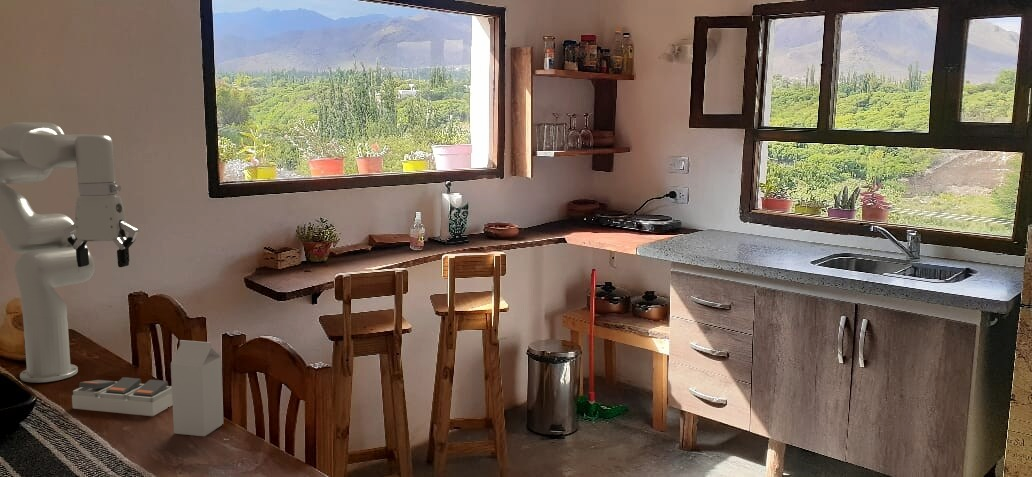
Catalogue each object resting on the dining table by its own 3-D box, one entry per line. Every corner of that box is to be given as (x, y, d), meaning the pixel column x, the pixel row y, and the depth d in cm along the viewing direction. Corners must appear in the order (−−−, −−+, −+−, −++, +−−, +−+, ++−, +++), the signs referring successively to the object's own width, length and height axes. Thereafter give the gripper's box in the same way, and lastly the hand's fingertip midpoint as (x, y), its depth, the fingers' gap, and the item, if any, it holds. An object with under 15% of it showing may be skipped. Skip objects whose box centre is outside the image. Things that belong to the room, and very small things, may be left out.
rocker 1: (79, 387, 183) (79, 381, 183) (97, 384, 189) (98, 379, 189) (96, 388, 182) (96, 383, 182) (114, 385, 188) (115, 380, 188)
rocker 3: (134, 397, 181) (133, 392, 180) (150, 383, 186) (149, 379, 186) (152, 398, 180) (151, 394, 179) (168, 384, 185) (167, 380, 185)
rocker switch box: (72, 408, 183) (71, 391, 182) (98, 396, 191) (97, 379, 190) (153, 416, 179) (152, 398, 178) (176, 403, 187) (175, 386, 186)
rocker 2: (106, 394, 182) (106, 390, 182) (124, 381, 188) (123, 376, 187) (124, 396, 181) (123, 391, 181) (141, 382, 187) (140, 378, 186)
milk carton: (204, 437, 168) (201, 347, 165) (173, 434, 169) (169, 344, 166) (223, 424, 175) (220, 338, 172) (193, 421, 176) (189, 335, 173)
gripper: (143, 189, 186) (148, 263, 188) (72, 189, 188) (78, 263, 190) (124, 191, 179) (129, 269, 181) (50, 192, 181) (56, 268, 183)
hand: (103, 266), depth 186 cm, fingers open, 9 cm apart
